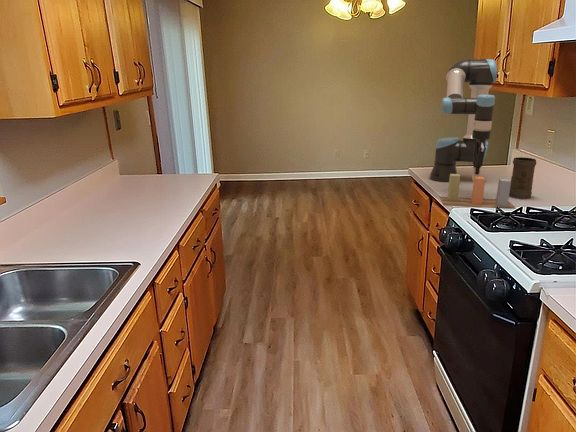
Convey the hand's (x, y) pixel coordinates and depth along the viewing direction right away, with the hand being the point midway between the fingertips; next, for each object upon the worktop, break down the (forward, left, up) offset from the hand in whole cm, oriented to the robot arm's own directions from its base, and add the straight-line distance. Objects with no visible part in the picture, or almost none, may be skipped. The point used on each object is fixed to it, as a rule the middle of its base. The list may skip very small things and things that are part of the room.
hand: (475, 180), depth 215 cm
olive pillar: (+3, -10, -9) cm, 14 cm away
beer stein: (-11, +23, -10) cm, 27 cm away
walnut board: (+6, 0, -10) cm, 12 cm away
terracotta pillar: (+7, 0, -9) cm, 12 cm away
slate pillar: (+10, +10, -9) cm, 17 cm away
